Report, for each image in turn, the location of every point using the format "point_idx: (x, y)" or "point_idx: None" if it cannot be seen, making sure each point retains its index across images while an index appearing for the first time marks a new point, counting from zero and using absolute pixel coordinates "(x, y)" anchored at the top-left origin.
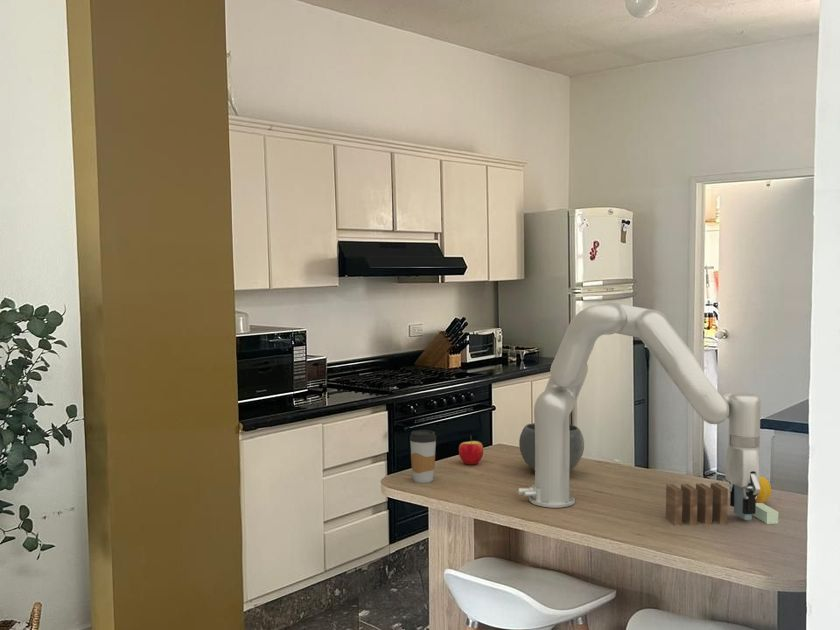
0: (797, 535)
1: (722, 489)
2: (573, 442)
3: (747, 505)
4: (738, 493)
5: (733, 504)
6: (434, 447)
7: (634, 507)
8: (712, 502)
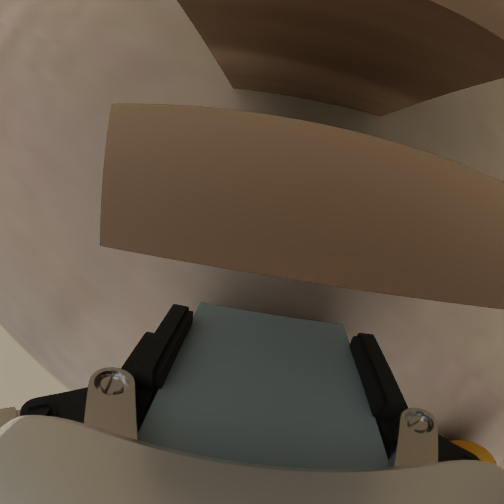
0: (50, 371)
1: (108, 134)
2: None
3: (141, 352)
4: (295, 420)
5: (352, 350)
6: None
7: None
8: (203, 37)
